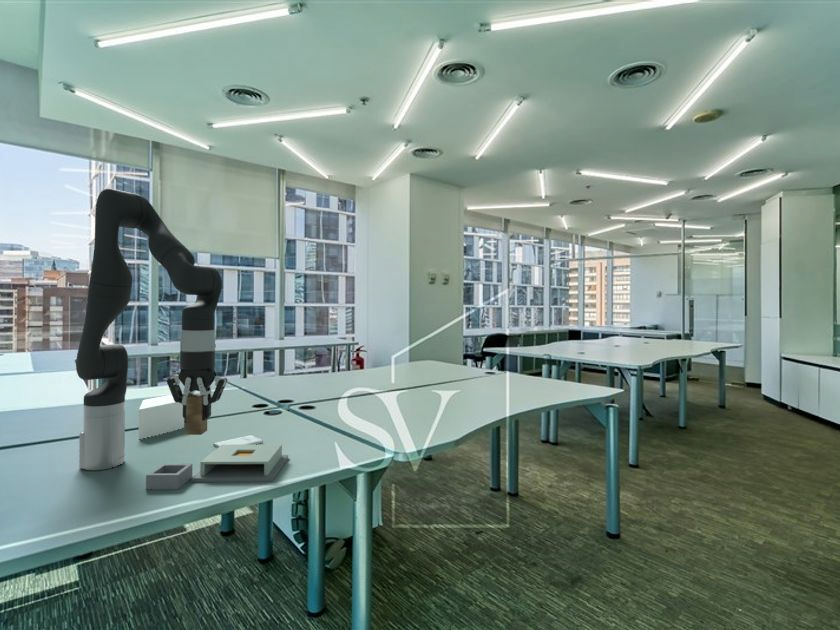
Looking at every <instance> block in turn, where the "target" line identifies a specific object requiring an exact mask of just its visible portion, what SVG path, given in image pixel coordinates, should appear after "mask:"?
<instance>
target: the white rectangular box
mask: <svg viewBox="0 0 840 630" xmlns="http://www.w3.org/2000/svg"><path fill="white" fill-rule="evenodd" d="M182 428H183V429H184V428H185V418H183V405H182V404H181V403H179V402H175V401H174V399H173V396H172V394H169V395H163V396H157V397H152V398H146V399H143V400H142V402H141V404H140V406H139V408H138V440H139V439H141V440H143V439H142V438H145V439H148V438H147V437H149V438H152V437H151V436H153V437H155V435H156V436H160V435H164V434H167V432H168V433H172V432H174V430H175V431H177V430H178V429H179V430H182ZM163 433H164V434H163ZM159 434H160V435H159Z"/></svg>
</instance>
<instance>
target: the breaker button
mask: <svg viewBox="0 0 840 630" xmlns="http://www.w3.org/2000/svg"><path fill="white" fill-rule="evenodd" d="M252 453H253V452H237V453H236V454H235V455H234V456H250V455H251V454H252Z"/></svg>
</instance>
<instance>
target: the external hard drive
mask: <svg viewBox="0 0 840 630" xmlns="http://www.w3.org/2000/svg"><path fill="white" fill-rule="evenodd" d="M260 443H261V444H263V443H264V441H263V439H261V438H259V437H256V436H254V435H253V434H252V435H245V436H240V437H236V438H231V439H227V440H222V441H217V442H213V446H212V447H214V446H215V447H214V448H216V447H217V448H218V447H220V446H221V445H256V444H260ZM217 448H216V449H217Z"/></svg>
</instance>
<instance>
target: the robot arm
mask: <svg viewBox="0 0 840 630" xmlns="http://www.w3.org/2000/svg"><path fill="white" fill-rule="evenodd" d="M120 227H121V228H126V229H137V230H138V231H140V232H141V233H143V234H145V235H146V236H147V237H148V240H147V242H148V243H147V244H148V250H149V251H150V254H151V255H152V257H153V258H154V259H155V260H156V261H157V262H158V263H159V264H160V265H161V267H163V268H164V269H165V270H166V272H167V275H168V277H169V278H170V281H171V283H172V284H173V287H174V288H175V289H176V290H177V291H178V292H180V293H182V294H185V295H190V296H197V298H196V299H195V302H194V303H193V304H190V305H186V306H185V307H183V309H182V310H181V333H180V338H179V340H180V342H179V343H180V344H179V345H180V346H179V347H180V348H179V353H180V354H179V368H180V370H179V373H178V375H177V376H174V377H171V378H168V379H167V380H166V384H167V385H168V386H167V387H168V389H169V391H170V393H171V394H170V395H172V396H173V399H174V401H175V402H179V403H181V404H182V405H183V418H184V421H186V397H189V396H190V395H193V394H195V393H196V391H197V392H199V394H200V395H201V396H202V397H203V398H202V400H203V404H204V405H203V411H202V420H207V421H208V420H209V419H210V417H211V415H212V404H213V403H216V402H217V401H219V400H221V397H222V395H223V393H224V390H225V387H226V386H227V382H228V378H227V377H221V376H218V374H217V373H216V370H215V368H216V346H217V345H216V344H217V343H216V337H215V336H216V335H215V314H216V310H217V307H218V303H219V299H220V297H221V292H222V289H223V280H222V276H221V274H220V273H219V271H218V270H217V269H216V268H213V267H210V266H201V265H195V263H196V259H195V256H194V254H193V253H192V252H191V251H190V250H189V249H188V248H187V247H186V246H185V245H184V244H183V243H182V242H181V241H180V240H179V239H178V238H177V237H175V235H174V234H173V233H172V232H171V231H170V229H169V228H168V227H167V225H166V224H165V222H164V221H163V220H162V218H161V216H159V214H158V212H157V210H155V208H154V207H153V205H152V204H151V203H150V202H149V200H148V199H147V198H146V197H145V196H142V195H140V194H138V193H135V192H129V191H124V190H119V189H114V188H109V187H107V188H104V189H102V190H101V191H100V192H99V195H98V196H97V198H96V204H95V215H94V243H93V245H94V247H93V248H94V249H93V255H92V263H91V269H90V275H89V283H88V289H87V299H86V300H87V301H86V311H85V317H84V324H83V327H82V332H81V336H80V341H79V346H78V350H77V353H76V360H75V361H76V363H75V367H76V368H75V369H76V374H77V376H78V378H79V379H81V380H83V381H91V380H92V381H94V380H101V379H106V380H105V382H104V383H102V384H101V385H100V386H99V387H96V388H95V389H93V390H90V391H88V392H87V393H85V394H84V395H83V431H82V432H80V433H79V436H78V437H79V444H78V445H79V450H78V452H79V453H78V454H79V455H78V457H79V459H78V462H79V463H78V464H79V465H78V467H79V469H83V470H86V471H103V470H107V469H112V467H113V468H116V467H118V465H119V466H121V465H122V464H124V463H125V455H126V454H125V446H126V445H125V442H126V441H125V440H126V439H125V437H126V436H125V435H126V434H125V433H126V431H125V430H126V428H125V427H126V426H125V425H126V424H125V423H126V394H127V388H128V386H127V385H128V384H127V383H128V371H129V356H128V351H127V349H126V347H125V346H124V345H123V344H117V343H116V344H101V343H102V340H103V337H104V334H105V333H106V331H107V330H108V328H109V327H110V325H111V324H112V323H113V322H114V321H115V320H116V319H117V318H118V317H119V316H120V315H121V313H122V312H123V311H124V310H125V309H126V308H127V306H128V305H129V303H130V301H131V300H130V299H131V296H132V295H131V294H132V287H133V281H134V280H133V274H132V272H131V270H130V267H129V266H128V263H127V262H126V260H125V258H124V256H123V255H122V253H121V250H120V246H119V231H120V230H119V229H120ZM213 383H214V386H215V389H214V390H213V393H212V387H211V385H212V384H213ZM180 384H182V385H183V387H184V388H183V390H182V388H181V386H180ZM123 462H124V463H123ZM120 464H121V465H120Z"/></svg>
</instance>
